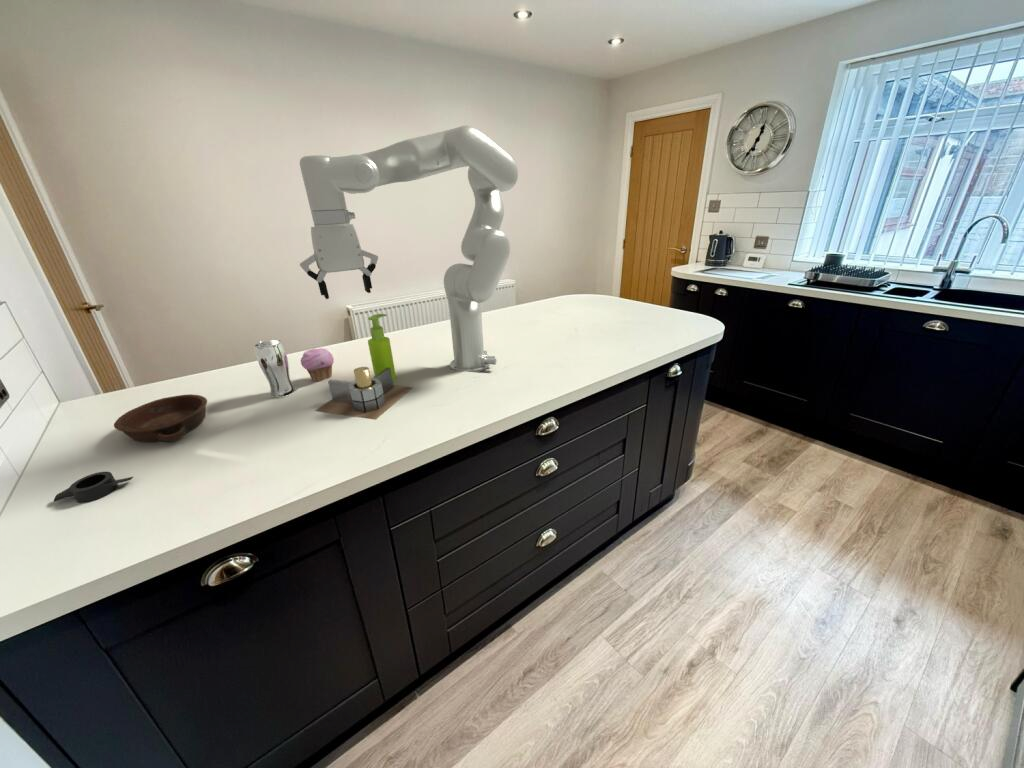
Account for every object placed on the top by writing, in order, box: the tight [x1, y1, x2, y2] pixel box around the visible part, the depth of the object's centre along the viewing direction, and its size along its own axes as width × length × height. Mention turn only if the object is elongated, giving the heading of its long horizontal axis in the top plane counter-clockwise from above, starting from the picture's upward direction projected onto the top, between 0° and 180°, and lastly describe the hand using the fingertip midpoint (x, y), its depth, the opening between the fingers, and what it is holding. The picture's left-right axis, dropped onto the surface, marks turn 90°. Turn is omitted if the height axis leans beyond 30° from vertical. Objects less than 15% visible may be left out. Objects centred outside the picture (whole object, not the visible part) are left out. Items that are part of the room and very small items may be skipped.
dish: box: [113, 393, 208, 443], centre depth 95 cm, size 18×22×5 cm
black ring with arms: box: [53, 471, 134, 504], centre depth 74 cm, size 8×10×3 cm
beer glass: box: [253, 338, 296, 398], centre depth 108 cm, size 7×7×15 cm
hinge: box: [327, 368, 394, 413], centre depth 103 cm, size 15×15×6 cm
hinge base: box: [314, 384, 414, 421], centre depth 104 cm, size 18×18×1 cm
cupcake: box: [300, 347, 334, 383], centre depth 116 cm, size 9×9×10 cm
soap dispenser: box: [367, 313, 397, 381], centre depth 112 cm, size 6×7×20 cm
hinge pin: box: [353, 366, 372, 389], centre depth 99 cm, size 4×4×10 cm
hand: (347, 294), depth 95 cm, fingers open, 9 cm apart
